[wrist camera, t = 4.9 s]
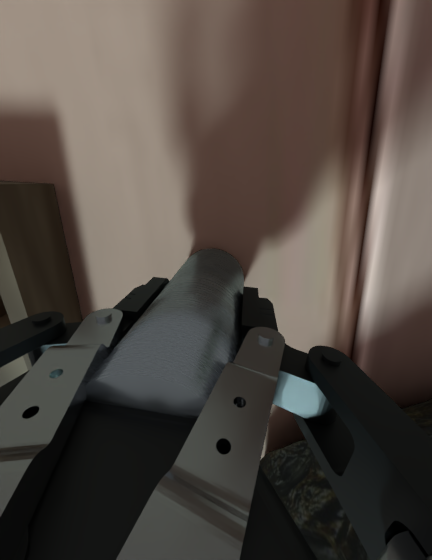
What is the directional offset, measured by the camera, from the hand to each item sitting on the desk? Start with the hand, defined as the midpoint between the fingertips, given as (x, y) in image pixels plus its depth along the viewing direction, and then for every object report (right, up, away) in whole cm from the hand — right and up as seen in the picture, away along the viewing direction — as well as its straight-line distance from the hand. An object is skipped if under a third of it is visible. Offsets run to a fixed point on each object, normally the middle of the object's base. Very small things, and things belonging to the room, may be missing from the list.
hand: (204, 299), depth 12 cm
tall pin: (0, +1, +3) cm, 3 cm away
